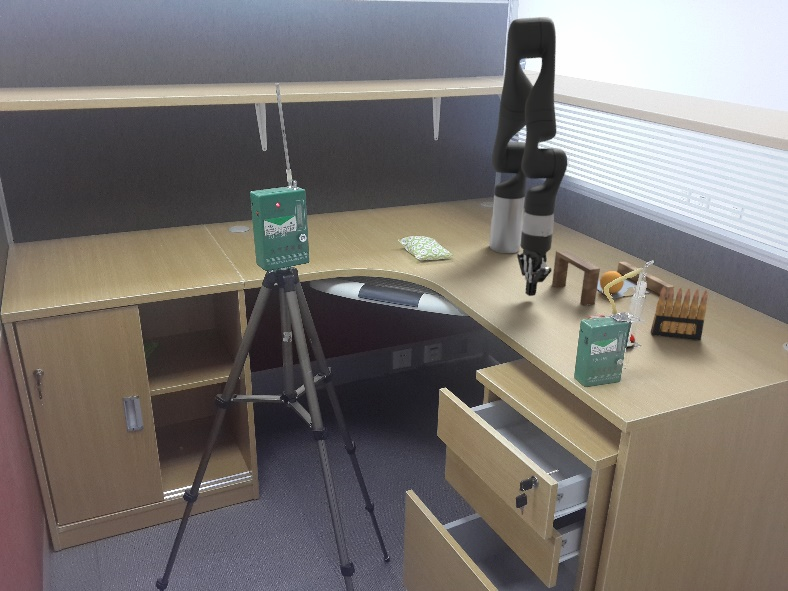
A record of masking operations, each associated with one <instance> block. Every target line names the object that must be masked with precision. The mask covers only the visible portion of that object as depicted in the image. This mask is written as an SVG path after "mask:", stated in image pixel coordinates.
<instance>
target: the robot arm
mask: <svg viewBox="0 0 788 591" xmlns="http://www.w3.org/2000/svg"><path fill="white" fill-rule="evenodd" d="M506 41H507V42H506V56H505V73H504V78H503V85H502V90H501V91H502V92H501V96H500V104H499V112H498V123H497V129H496V130H497V131H496V135H495V141H494V144H493V149H492V155H491V156H492V157H491V165H492V166H491V167H492V169H493V171H494V172H495V173H499V174H515V175H514V176H513V177H512V178H510V179H508V180H505V181H503V182H500V183H498V184H496V185H495V187H494V192H493V193H494V194H493V195H494V196H493V206H492V217H491V218H490V219H491V221H490V234H489V246H490V247H489V248H490V250H491V251H493V252H496V253H499V254H515V253H517V254H516V255H517V256H516V258H517V261H518V265H519V268H520V273H521V276H524V280H525V281H526V282H525V294H526V295H527V296H528V297H534V296H536V294H537V289H538V288H537V287H538V283H543V282H544V281H545V280H546V279H547V277H548V276H549V275H550V274H551V272H552V267H550V266H548V264H547V262H548V260H547V253H548V252H549V251H550V250H551V249H552V241H553V232H554V225H555V223H554V222H555V206H556V198H557V195H558V192H559V189H560V187H561V183H562V181H563V179H564V176H565V175H566V173H567V167H568V157H567V154H566V152H565V151H564V150H563V149H561V148H558V147H555V148H554V147H553V148H552V147H551V148H547V147H546V148H545V147H544V148H542V147H541V148H539V144H540V143H544V142H548V141H551V140H553V138H555V137H556V135H557V121H556V120H557V118H556V109H555V108H556V107H555V80H556V54H557V53H556V51H557V50H556V48H557V47H556V46H557V44H556V43H557V42H556V41H557V37H556V27H555V22H554V21H553V19H552V18H551V17H549V16H547V17H546V16H539V17H537V16H535V17H523V18H522V17H521V18H516V19H514V20H512V21H511V23H510V25H509V28H508V32H507V40H506ZM537 58H538V59H541V68H540V71H539V74H538V77H537V78H536V80H535V82H534V84H532V82H531V80H530V79H529V77H528V76H527V74H526V73H525V72H524V70H523V67H522V66H521V63H520V62H521V60H528V59H537ZM524 127H525V129H526V130H525V132H526V134H525V136H526V137H525V142H524V141H511V139H512V138H513V137H514V136H515V135H516V134H518V133H519V132H520V131H521V130H523V129H524ZM527 178H528V179H531V180H532V179H533V180H534V179H540V180H541V179H543V180H544V179H545V180H544V182H543V183H541V184H540V185H536V186H533V187H531V188H529V189H527V191H526V187H527ZM521 249H522V253H521V252H520V250H521ZM519 252H520V253H519Z"/></svg>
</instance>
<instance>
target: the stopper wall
mask: <svg viewBox="0 0 788 591" xmlns="http://www.w3.org/2000/svg"><path fill="white" fill-rule="evenodd" d="M636 269H639V268H638V267H636V266H634V265H633V264H630V263H629V262H626V261H618V264H617V270H616V272H618V273H619V274H620V273H621V274H620V275H622V274H623V275H622V276H624V275H625V274H627V273H629V272H631V271H634V270H636ZM646 273H647V276H646V281H647V289H649V290H650V291H652V292H654V293H656V294H658V295H660V293H661V290H662V288H663V287H664V286H665V289H666V295H665V299H667V298H668V294H669V291H670V289H671V288H672V287H673V288H674V289H675V286H674V285H672V284H670V283H668V282H667V281H664V280H662V279H660V278H658V277H657V276H654V275H652V274H650V273H649V272H646ZM638 278H639V274H637V275H636V276H634V277H632V278H630V280H631V281H633V282H635V283H637V281H638Z"/></svg>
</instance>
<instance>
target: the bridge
mask: <svg viewBox="0 0 788 591" xmlns="http://www.w3.org/2000/svg"><path fill="white" fill-rule="evenodd" d="M569 264H570V265H572V266H574V267H576V268H578V269H579V270H580V271H583V272H584V273H583V280H582V281H583V282H582V287H581V293H580V294H581V295H580V303H581V305H583V304H584V305H583V306H590V305H589V304H592V305H595V304H596V298H597V292H598V290H597V286H598V280H600V278H599V277H600V271H601V268H600V267H598V266H597V265H594V264H593V263H591V262H589V261H587V260H585V259H583V258H582V257H580V256H579V255H576V254H574V253H572V252H570V251H569V250H567V249H561V250H560V249H559V250H556V251H555V256H554V264H553V271H552V272H553V273H552V280H551V281H552V282H551V286H553V285H554V286H553V287H555V288H560V287H559V286H561V287H566V284H567V276H568V269H569Z"/></svg>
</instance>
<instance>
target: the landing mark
mask: <svg viewBox="0 0 788 591" xmlns="http://www.w3.org/2000/svg"><path fill="white" fill-rule="evenodd" d="M636 286H637V285H636V284H635V283H633V282H630V281H629V280H627V279H625V281H624V284H623V287H622V289H621V290H620V291H619V292H617V293H614V294H612V295H611V294H610V295H611V296H612V297H613V299H618V298H619V297H621V298H623V297H622V296H624V294H623V293H624V292H626V291H627V290H628V289H627V288H629V287H633V289H634V290H635V288H634V287H636ZM598 290H599V291H598ZM602 290H603V289H602V288H601V286H600V279H598V286H597V291H598V292H600V291H601V292H602ZM601 292H600V293H601ZM603 293H604V290H603ZM603 293H602V294H603ZM647 294H650V292H649V291H648V290H646V294H645V295H647ZM613 299H612V300H613ZM619 299H620V298H619Z"/></svg>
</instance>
